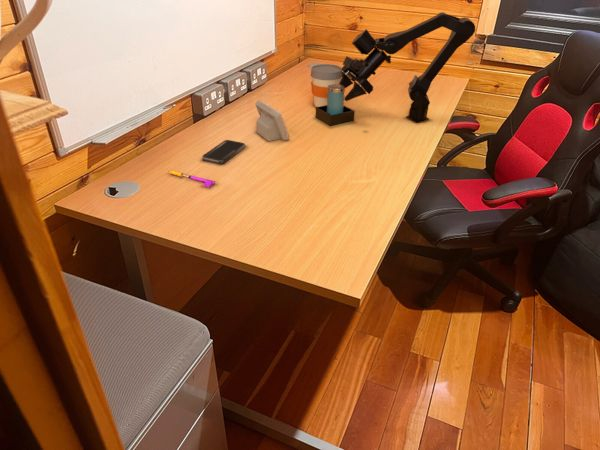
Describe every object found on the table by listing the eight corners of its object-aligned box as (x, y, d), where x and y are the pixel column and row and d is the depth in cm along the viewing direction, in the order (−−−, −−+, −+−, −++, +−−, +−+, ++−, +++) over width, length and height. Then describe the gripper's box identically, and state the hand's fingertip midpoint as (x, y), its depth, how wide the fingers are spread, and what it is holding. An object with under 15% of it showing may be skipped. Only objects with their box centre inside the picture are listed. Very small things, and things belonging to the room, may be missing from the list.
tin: (336, 115, 181) (338, 83, 174) (346, 120, 177) (348, 87, 170) (323, 118, 179) (324, 85, 172) (332, 123, 174) (334, 90, 167)
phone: (200, 156, 148) (226, 139, 159) (201, 160, 148) (226, 142, 160) (222, 161, 145) (246, 143, 156) (222, 164, 146) (246, 146, 157)
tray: (338, 113, 184) (339, 102, 182) (353, 122, 177) (354, 110, 174) (315, 118, 179) (315, 107, 177) (330, 127, 172) (330, 115, 170)
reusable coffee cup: (305, 108, 189) (306, 70, 180) (316, 98, 198) (317, 62, 190) (334, 112, 185) (336, 74, 177) (344, 102, 195) (346, 66, 186)
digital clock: (290, 142, 161) (290, 112, 155) (265, 145, 158) (264, 115, 152) (276, 125, 174) (276, 96, 168) (253, 127, 171) (251, 99, 165)
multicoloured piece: (216, 183, 136) (171, 172, 141) (215, 180, 135) (170, 169, 140) (211, 189, 134) (166, 177, 140) (210, 186, 133) (165, 174, 139)
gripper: (348, 42, 173) (318, 74, 176) (368, 55, 158) (335, 90, 162) (365, 63, 179) (336, 93, 183) (386, 77, 165) (355, 110, 168)
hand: (340, 96), depth 174 cm, fingers open, 9 cm apart
